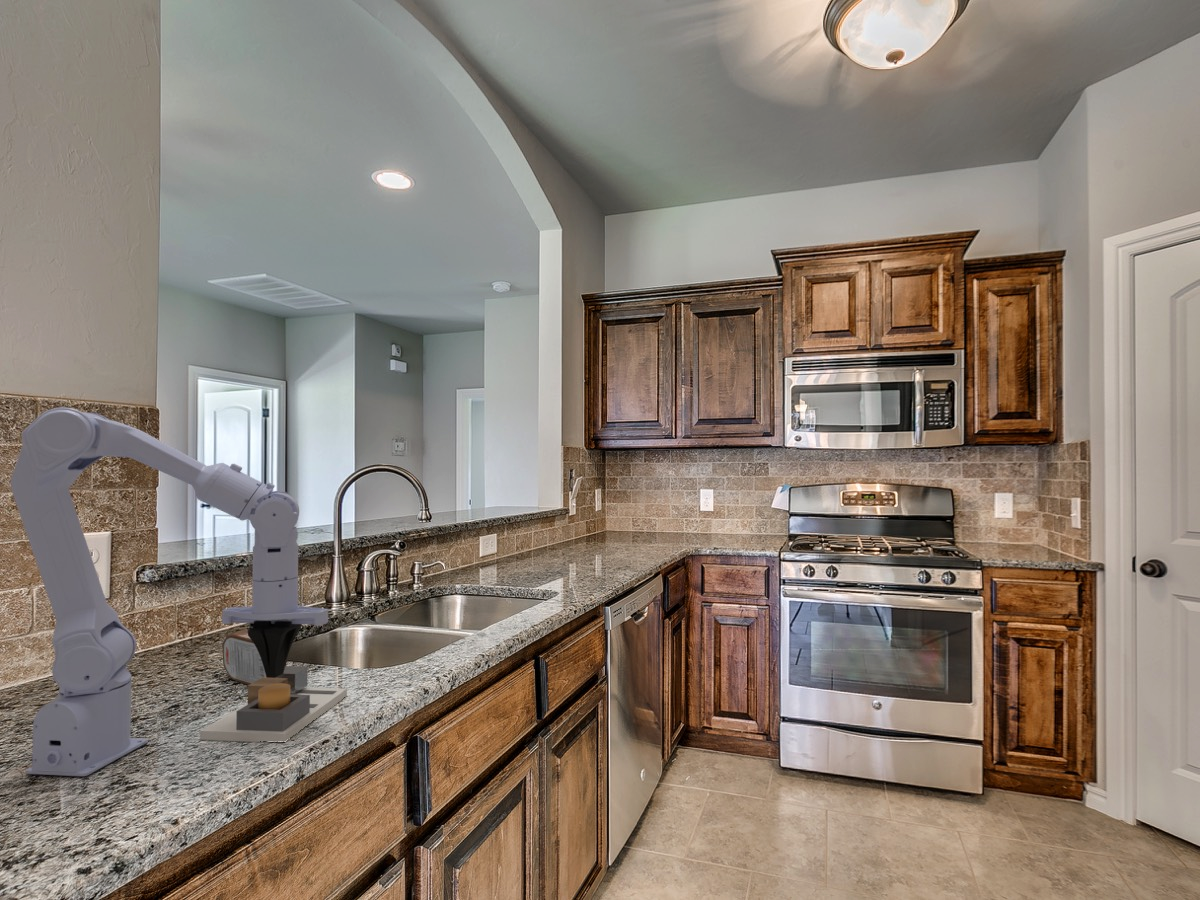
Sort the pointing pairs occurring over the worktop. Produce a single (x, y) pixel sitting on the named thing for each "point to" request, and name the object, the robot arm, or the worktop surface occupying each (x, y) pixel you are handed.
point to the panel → (274, 717)
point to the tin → (242, 658)
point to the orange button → (274, 696)
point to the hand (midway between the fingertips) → (274, 675)
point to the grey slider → (295, 677)
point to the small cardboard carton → (261, 683)
